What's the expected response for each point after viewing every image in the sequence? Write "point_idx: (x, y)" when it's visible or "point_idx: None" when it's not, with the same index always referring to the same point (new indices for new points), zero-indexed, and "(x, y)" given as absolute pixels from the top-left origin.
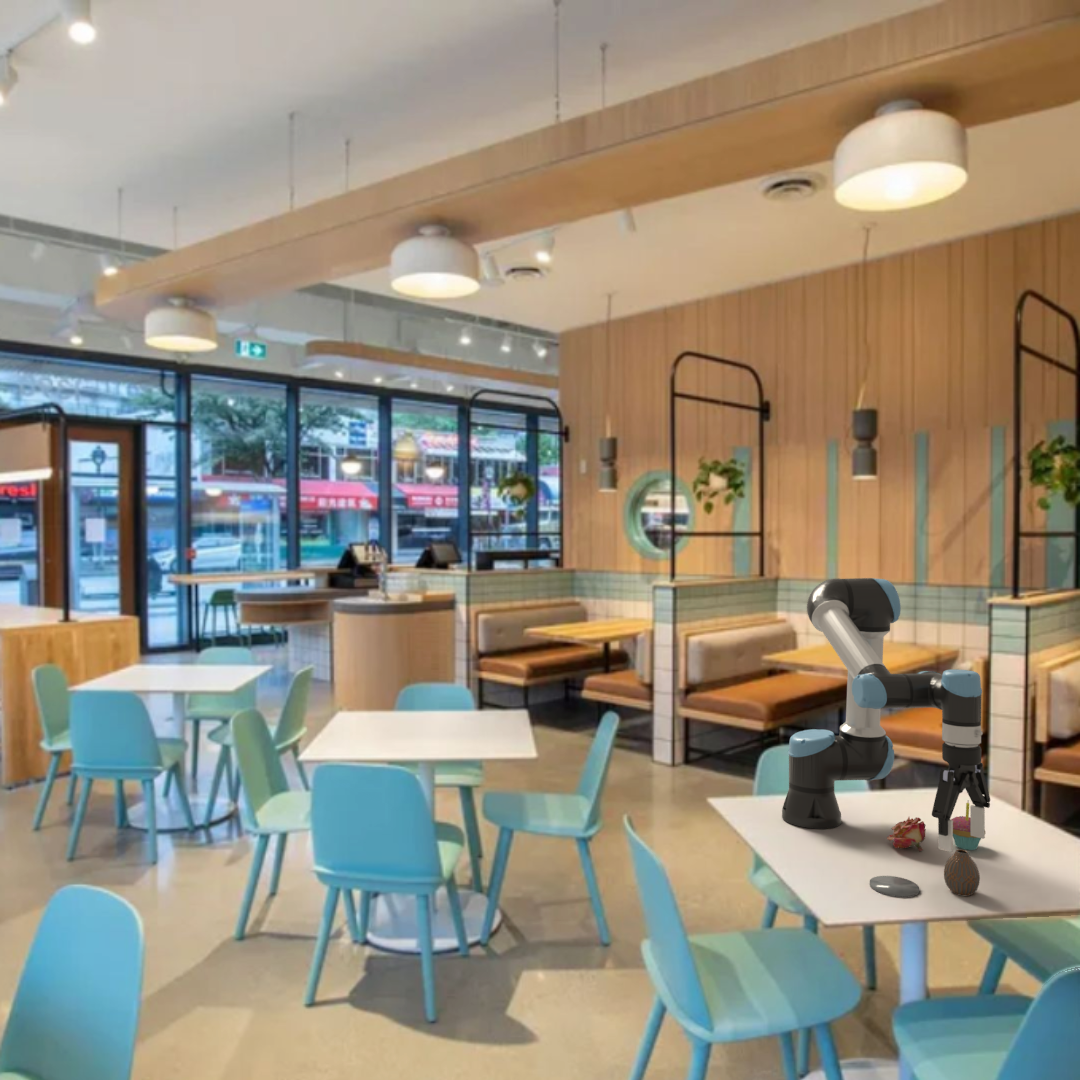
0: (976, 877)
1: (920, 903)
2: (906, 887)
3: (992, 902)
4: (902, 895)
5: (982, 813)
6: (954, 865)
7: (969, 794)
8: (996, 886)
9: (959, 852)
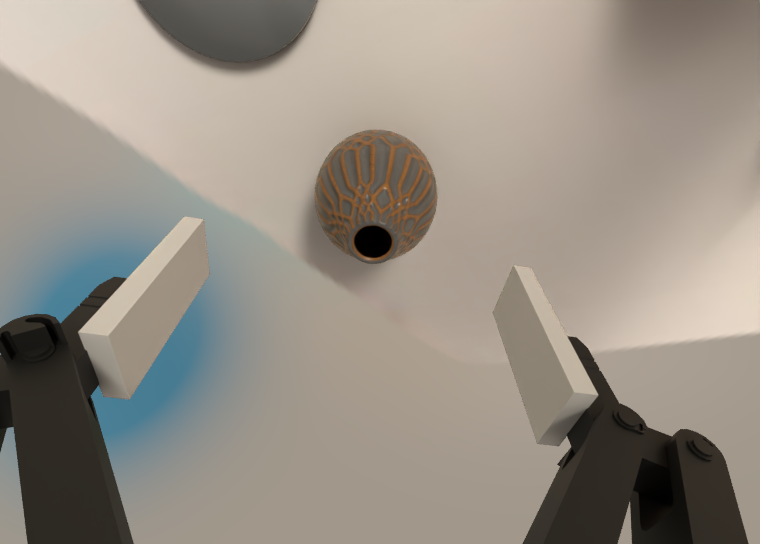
0: (359, 250)
1: (176, 100)
2: (233, 6)
3: None
4: (160, 23)
5: (529, 413)
6: (324, 206)
7: (559, 497)
8: (495, 233)
9: (349, 240)
